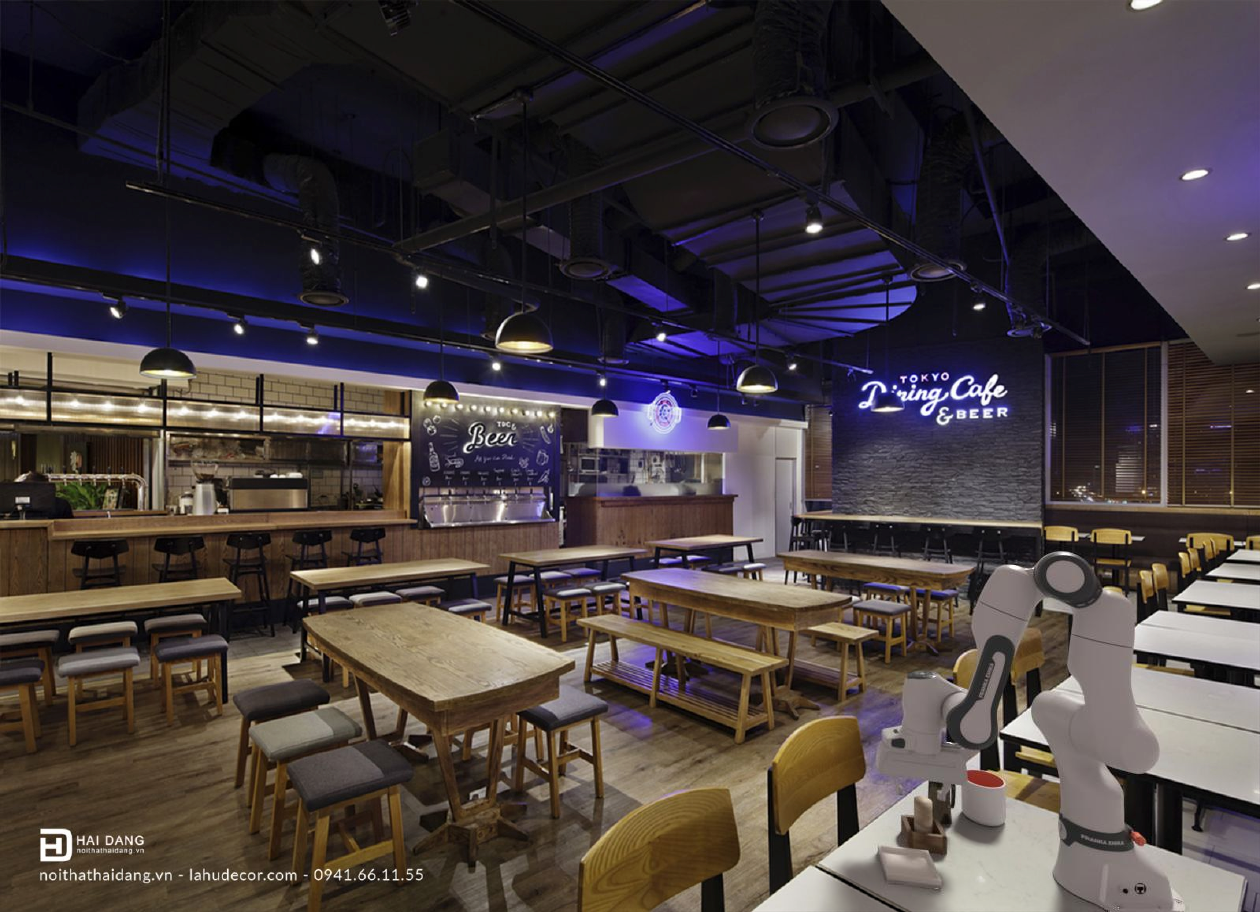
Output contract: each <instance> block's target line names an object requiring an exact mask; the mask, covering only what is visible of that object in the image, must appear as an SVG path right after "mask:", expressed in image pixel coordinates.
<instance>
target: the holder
mask: <svg viewBox="0 0 1260 912" xmlns="http://www.w3.org/2000/svg"><path fill="white" fill-rule="evenodd" d="M900 828H901V829H900V832H901V834H902V837H903V840H904V842H905V845H906V848H911V849H920V850H928V851H929V854H934V855H935V854H936V855H941V856H942V855H946V854H948V841H947V840H948V835H946V833H945V831H944V829H943V828H944V827H942V826H941V824H940V822H939V820H938V819H934V818H933V817H932V834H930V833H921V832H914V814H913V815H912V814H904V815H903V814H900Z"/></svg>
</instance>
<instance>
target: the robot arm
mask: <svg viewBox="0 0 1260 912" xmlns="http://www.w3.org/2000/svg"><path fill="white" fill-rule="evenodd" d="M1048 598H1049V599H1053V600H1056V601H1058V602H1060V603H1061V602H1062V603H1063V604H1066V605H1067V606H1069V607H1070V609H1071V612H1072V624H1071V625H1072V626H1071V631H1070V632H1071V633H1070V640H1069V646H1068V647H1069V648H1068V657H1067V665H1066V666H1067V669H1068V671H1069V674H1070V675H1071V676H1072V677H1073V678H1074V679H1075V680H1076V682H1077V683H1078V685H1079V687H1080V689H1081V691H1082V694H1083V698H1081V697H1079V696H1076V695H1074V694H1072V693H1071V694H1070V693H1067V692H1062V691H1055V690H1044V691H1041V692H1040V693H1038V694H1037V695H1036V696H1035V698H1034V699H1033V701H1032V704H1031V706H1030V707H1031V708H1030V714H1031V716H1030V717H1031V719H1032V721H1033V724H1035V725H1034V726H1036V728H1037V729H1038V730H1039V731H1040V732H1041V734H1042V735H1043V737H1044V738H1045V740H1046V743H1047V745H1048V747H1049V749H1050V751H1051V754H1052V757H1053V760H1054V762H1055V765H1056V768H1057V771H1058V772H1057V773H1058V777H1059V787H1060V788H1059V790H1060V791H1059V792H1060V808H1059V810H1058V821H1057V826H1058V827H1057V828H1058V836H1059V844H1058V845H1059V846H1058V852H1057V857H1056V860H1055V864H1054V867H1053V869H1052V874H1053V877H1054V879H1055V880H1056V881H1057V882H1058V883H1059V885H1060V886H1062V887H1063V888H1064V889H1065V890H1067V891H1068V892H1069V893H1071V894H1073V895H1076V896H1077V897H1079V898H1081V899H1083V900H1085V901H1088V902H1090V903H1092V904H1095V905H1096V906H1099V907H1100V908H1102V909H1103V908H1104V910H1106V911H1107V910H1108V911H1107V912H1109V911H1111V912H1180V911H1182V912H1184V911H1186V910H1187V905H1186V903H1185V901H1184V900H1183V898H1182V897H1181V896H1180V894H1179V893H1178V892H1177V891H1176V890H1175V889H1174V888H1173V887H1172V886H1171V884H1170V880H1169V878H1168V875H1167V873H1166V872H1165V870H1164V868H1163V867H1162V866H1161V865H1160V864H1159V862H1157V861H1156V860H1155V859H1154V858H1153V857H1152V856H1151V855H1150V854H1148V853H1147V852H1146V851H1144V850H1143V849H1142V848H1141V847H1144V846H1145V845H1146V843H1147V840H1146V839H1145V837H1144V836H1143V835H1141V834H1140V833H1139V832H1138V831H1134V829H1133V828H1132V826H1130V825H1129V824H1127V823H1126V822H1125V806H1124V803H1125V801H1124V797H1125V796H1124V795H1125V794H1124V790H1123V788H1122V786H1121V784H1120V783H1119V781H1118V780H1117V779H1116V778H1115V776H1114V775H1113V774H1112V773H1111V772H1110V770H1109V769H1108V767H1111V768H1113V769H1117V770H1120V771H1125V772H1128V773H1132V774H1137V775H1139V774H1140V775H1141V774H1145V773H1147V772H1149V771H1151V770H1152V769H1153V768H1154V767H1155V766H1156V765H1157V763H1158V761H1159V760H1160V759H1159V758H1160V754H1161V753H1160V752H1161V750H1160V749H1161V748H1160V743H1159V740H1158V738H1157V736H1156V734H1155V733H1154V732H1153V731H1152V730H1151V728H1150V727H1149V726H1148V724H1146V722H1145V721H1144V719H1143V717H1142V715H1141V714H1140V711H1139V709H1138V706H1137V704H1136V702H1135V697H1134V694H1133V689H1132V668H1133V667H1132V665H1133V659H1134V658H1133V657H1134V656H1133V655H1134V649H1135V648H1134V647H1135V639H1136V638H1135V636H1136V635H1135V634H1136V632H1135V631H1136V630H1135V629H1136V627H1135V626H1136V624H1135V623H1136V622H1135V612H1134V607H1133V604H1132V602H1131V600H1130V599H1129V598H1127V597H1126V596H1125V595H1124V594H1121V593H1119V592H1117V591H1114V590H1111V589H1107V588H1103V586H1102V585H1101V582H1100V581H1099V579H1098V578H1097V576H1096V573H1095V571H1094V569H1093V567H1092V566H1091V565H1090V564H1089V562H1088V561H1086V559H1084V558H1082V557H1081V556H1080V555H1077V554H1074V553H1073V552H1069V551H1054V552H1051V553H1048V554H1046V555H1044V556H1043V557H1042V558H1040V560H1039V561H1038V562H1036V563H1035V564H1034V565H1032V566H1030V567H1029V568H1026V567H1022V566H1020V565H1015V564H1002V565H999V566H998V567H996V568H995V570H994V571H993V572H992V574H991V575H990V577H989V578H988V580H987V581H986V583H985V585H984V587H983V589H982V591H981V593H980V595H979V597H978V599H977V602H976V604H975V607H974V610H973V615H972V620H971V625H970V627H971V632H972V634H973V635H972V636H973V637H974V641H975V645H976V651H977V660H976V666H975V669H974V672H973V675H972V677H971V680H970V683H969V686H968V689H967V688H965V687H962V686H959V685H957V684H954V683H952V682H950V681H948V680H947V679H945V677H944V678H943V677H942V676H941V675H940V674H939V673H938V672H936V671H933V670H927V669H920V670H915V671H911V672H910V673H908V674H907V675H906V676H905V679H904V682H903V688H902V698H901V699H902V700H901V701H902V702H901V703H902V704H901V705H902V710H903V718H902V720H901V724H900V725H897V726H892V727H891V726H890V727H887V728H883V729H882V730H881V738H882V740H880V741H879V743H878V745H877V748H876V755H875V767H876V770H877V772H878V773H879V774H880V775H882V776H888V777H890V778H891V779H892V781H893V784H894V785H895V794H896V795H897V796H904V787H903V785H902V784H899V783H898V782H899V780H900V778H903V779H912V780H919V781H924V782H925V781H927V782H929V781H933V782H940V783H943V785H944V786H943V788H942V789H941V790H937V798H938V800H940V801H945V800H946V794H947V793H948V791H949V790H950V791H951V784H955V785H957V786H961V785H965V784H966V783H967V782H968V776H967V770H968V768H967V762H968V759H969V751H968V750H971V751H980V750H985V749H987V748H989V747H990V746H993V744H994V743H995V741H996V740H997V737H998V736H999V735H998V734H999V724H998V709H999V705H1000V702H1001V699H1002V696H1003V694H1004V693H1003V692H1004V689H1005V688H1006V685H1007V681H1008V678H1009V674H1010V672H1011V669H1012V665H1013V661H1014V659H1015V656H1016V654H1017V651H1018V648H1019V646H1020V643H1021V642H1022V639H1023V637H1024V634H1025V632H1026V629H1027V627H1028V625H1029V623H1030V620H1031V618H1032V615H1033V613H1034V610H1035V608H1036V606H1037V605H1038V604H1039V602H1041V601H1042V600H1045V599H1048ZM943 728H947V731H948V734H949V736H950V737H951V739H952V740H953V741H954V742H949V741H942V739H943V734H942V733H943ZM1107 766H1108V767H1107ZM1176 902H1178V903H1181V904H1178V903H1176ZM1118 907H1119V908H1118Z"/></svg>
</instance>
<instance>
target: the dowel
mask: <svg viewBox="0 0 1260 912" xmlns="http://www.w3.org/2000/svg"><path fill="white" fill-rule="evenodd" d="M913 815H914V832H921V833H930V834H932V801H931V800H930V799H929V798H928V797H926V796H921V795H916V796H914V797H913Z"/></svg>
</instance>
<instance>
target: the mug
mask: <svg viewBox="0 0 1260 912" xmlns="http://www.w3.org/2000/svg"><path fill="white" fill-rule="evenodd" d="M927 782H928V785H927V786H928V787H927V789H928V790H927V798H929V799H930V800H931V801H932V817H933V818H934V819H938V820H939V822H940V824H941V826H942V828H949V827H951V826H952V825H953V819H952V818H953V817H952V816H953V815H952V810H954V808H955V805H956V794H957V792H956V791H957V786H956V785H955V784H951V789H950V790H949V791H948V793H947V794H946V800H945V801H940V800H938V798H937V790H941V789H942V788H943V786H944V785H943V783H940V782H933V781H927Z"/></svg>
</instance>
